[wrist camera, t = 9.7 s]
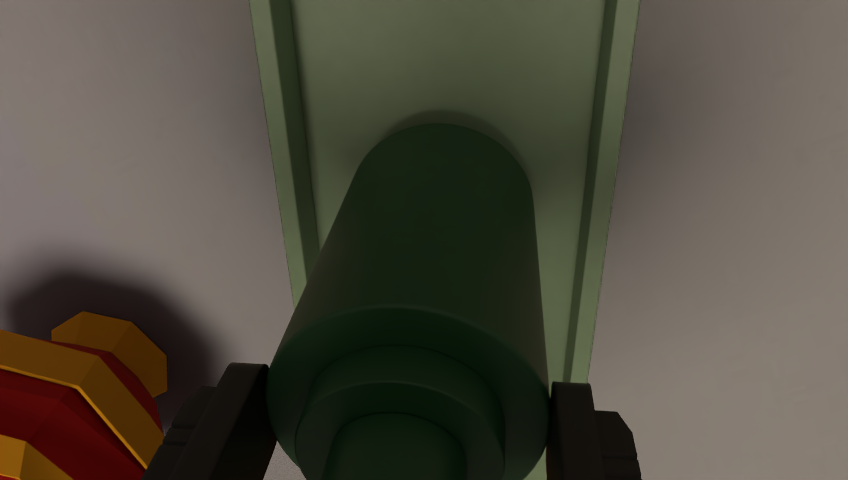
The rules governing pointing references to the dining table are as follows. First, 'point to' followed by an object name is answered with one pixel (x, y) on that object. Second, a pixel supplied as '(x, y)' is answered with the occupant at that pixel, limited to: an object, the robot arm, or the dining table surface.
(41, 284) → the dining table surface
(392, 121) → the tray
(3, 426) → the potion bottle
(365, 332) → the green bottle
